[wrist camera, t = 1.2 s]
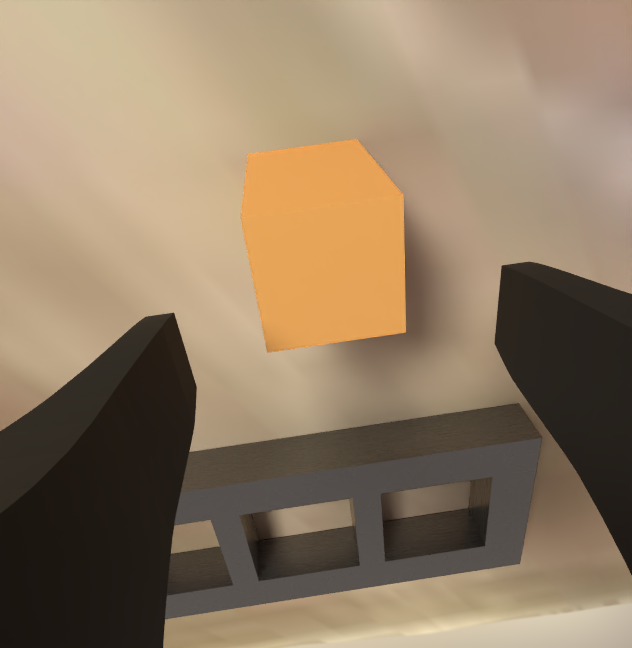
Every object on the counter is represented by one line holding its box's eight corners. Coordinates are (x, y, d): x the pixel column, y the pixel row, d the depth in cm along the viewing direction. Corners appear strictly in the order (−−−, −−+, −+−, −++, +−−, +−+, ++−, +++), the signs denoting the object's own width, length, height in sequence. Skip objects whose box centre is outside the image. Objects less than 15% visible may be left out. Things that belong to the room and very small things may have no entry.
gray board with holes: (518, 403, 25) (542, 438, 23) (501, 526, 31) (519, 563, 29) (51, 473, 25) (32, 514, 23) (115, 586, 30) (104, 628, 28)
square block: (356, 139, 18) (403, 194, 12) (363, 241, 20) (406, 332, 14) (247, 153, 18) (240, 217, 12) (265, 255, 20) (267, 352, 14)
